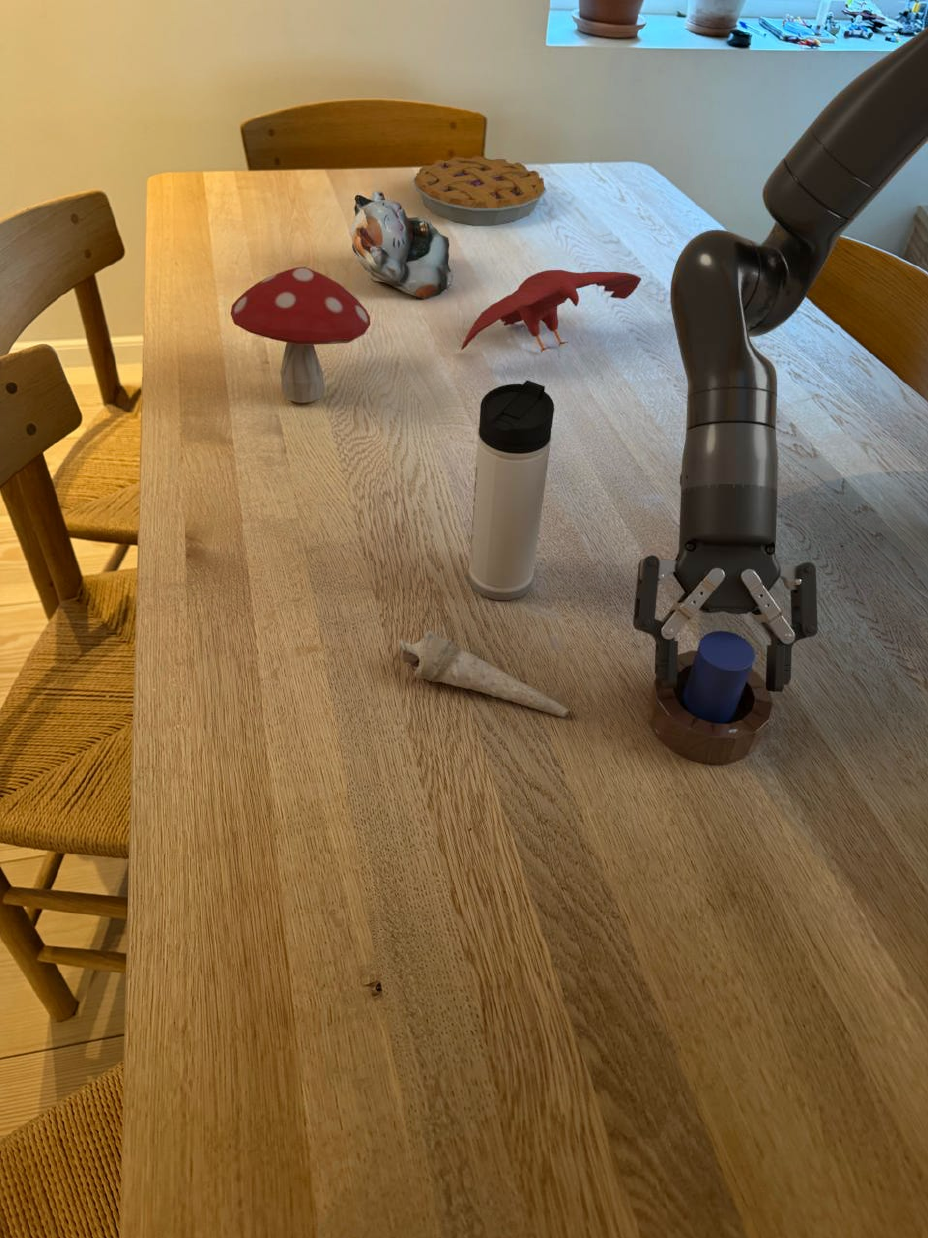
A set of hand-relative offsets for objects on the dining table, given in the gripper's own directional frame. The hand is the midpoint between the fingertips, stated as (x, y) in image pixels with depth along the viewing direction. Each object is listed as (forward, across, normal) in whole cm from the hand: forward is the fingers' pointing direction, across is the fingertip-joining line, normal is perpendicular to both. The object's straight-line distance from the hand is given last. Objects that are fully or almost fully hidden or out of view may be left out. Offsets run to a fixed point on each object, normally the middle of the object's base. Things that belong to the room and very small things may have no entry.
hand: (722, 689), depth 77 cm
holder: (+3, 0, +5) cm, 6 cm away
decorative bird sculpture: (-43, -11, +51) cm, 67 cm away
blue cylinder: (+2, 0, +4) cm, 5 cm away
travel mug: (-9, -17, +17) cm, 26 cm away
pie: (-77, -19, +85) cm, 116 cm away
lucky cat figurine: (-54, -30, +62) cm, 88 cm away
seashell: (+1, -19, +7) cm, 20 cm away
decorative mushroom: (-32, -40, +40) cm, 65 cm away
